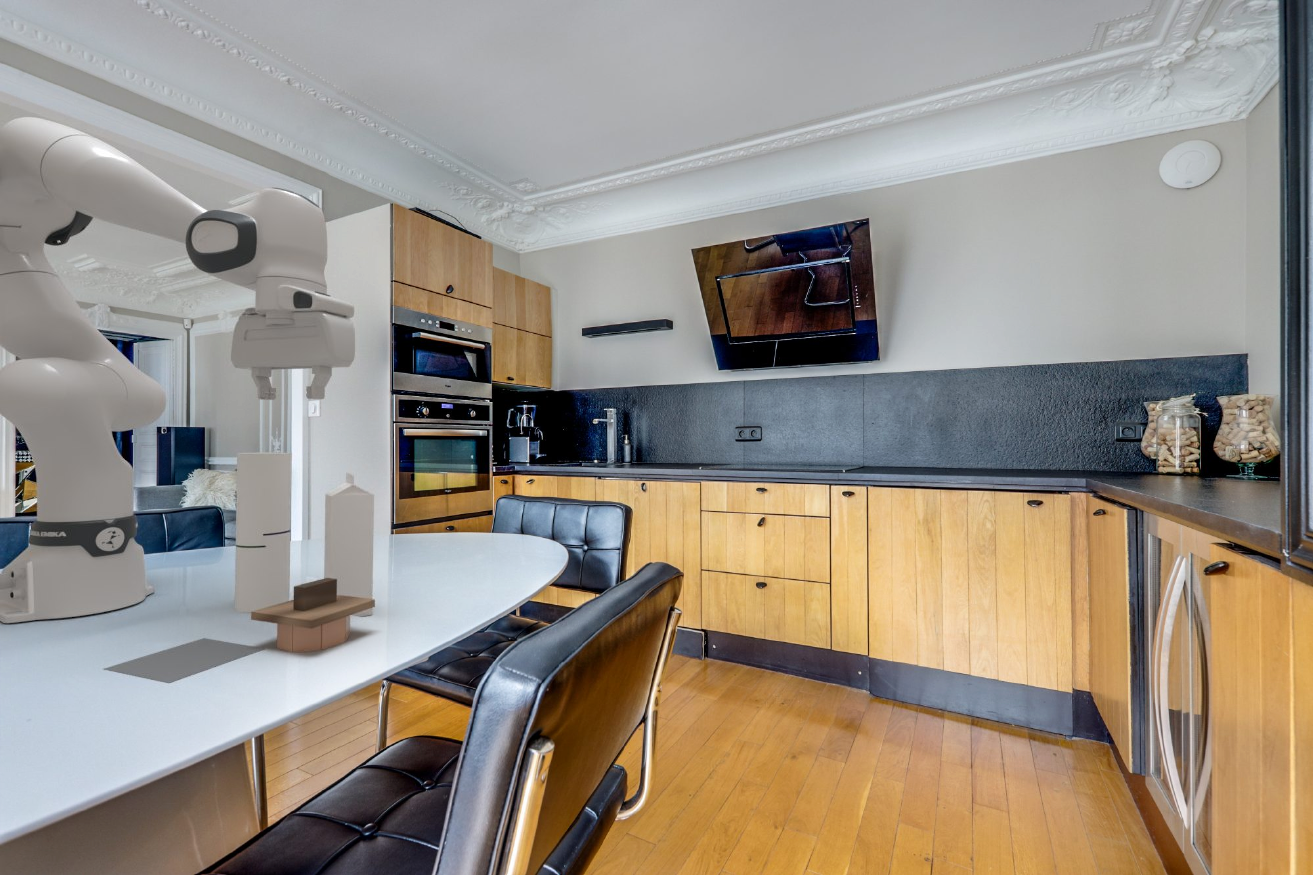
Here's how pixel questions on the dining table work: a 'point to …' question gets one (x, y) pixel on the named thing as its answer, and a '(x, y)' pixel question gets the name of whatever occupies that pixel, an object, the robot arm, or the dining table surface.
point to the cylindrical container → (262, 530)
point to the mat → (184, 660)
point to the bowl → (313, 636)
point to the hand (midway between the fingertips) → (290, 399)
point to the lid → (313, 606)
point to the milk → (350, 540)
